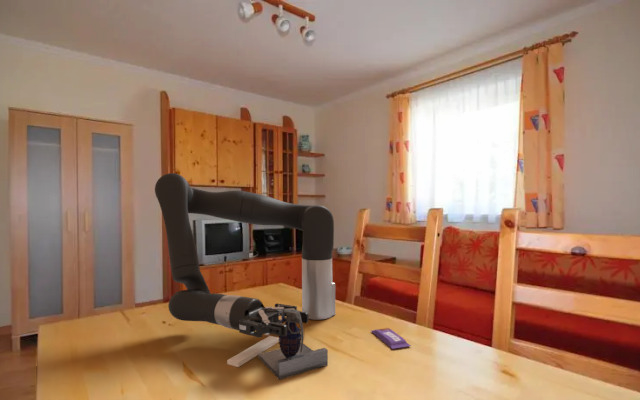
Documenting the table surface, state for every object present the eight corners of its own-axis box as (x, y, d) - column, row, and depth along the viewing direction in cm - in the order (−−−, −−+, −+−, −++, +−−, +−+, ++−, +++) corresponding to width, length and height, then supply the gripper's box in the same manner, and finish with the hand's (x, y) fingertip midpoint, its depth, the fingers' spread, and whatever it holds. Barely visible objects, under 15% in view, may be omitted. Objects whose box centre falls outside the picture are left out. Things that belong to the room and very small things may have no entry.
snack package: (411, 341, 78) (392, 344, 77) (411, 350, 78) (392, 353, 77) (387, 324, 89) (370, 327, 88) (387, 332, 89) (370, 334, 88)
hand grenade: (308, 354, 73) (309, 308, 73) (299, 364, 69) (300, 316, 69) (284, 350, 75) (285, 305, 75) (274, 359, 71) (275, 312, 71)
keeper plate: (302, 346, 79) (302, 332, 79) (327, 365, 70) (327, 349, 70) (258, 357, 74) (258, 343, 74) (279, 379, 64) (279, 363, 64)
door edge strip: (269, 338, 84) (269, 335, 84) (279, 341, 82) (279, 337, 82) (227, 364, 71) (227, 360, 71) (237, 367, 69) (237, 363, 69)
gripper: (216, 305, 73) (278, 316, 65) (258, 289, 85) (314, 298, 78) (216, 339, 73) (278, 355, 65) (258, 319, 85) (314, 330, 77)
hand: (297, 324), depth 71 cm, fingers open, 8 cm apart
